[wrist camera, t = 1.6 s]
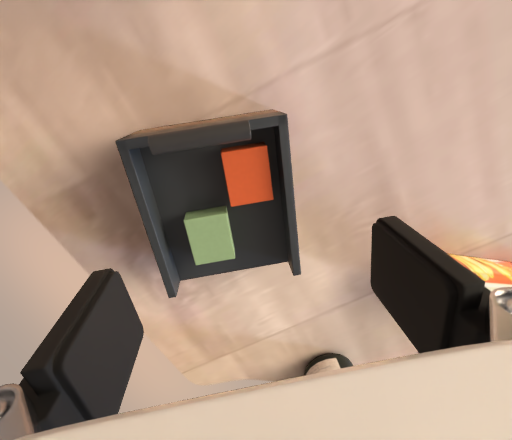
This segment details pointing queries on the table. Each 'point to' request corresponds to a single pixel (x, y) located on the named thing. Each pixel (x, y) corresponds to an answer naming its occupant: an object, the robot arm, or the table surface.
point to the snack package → (488, 270)
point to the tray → (211, 194)
